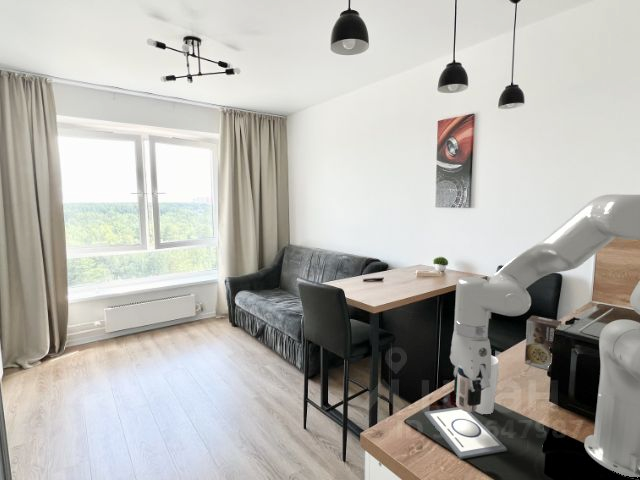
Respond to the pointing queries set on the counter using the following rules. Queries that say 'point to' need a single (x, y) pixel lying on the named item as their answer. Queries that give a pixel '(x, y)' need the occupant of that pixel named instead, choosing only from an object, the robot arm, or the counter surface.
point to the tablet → (464, 433)
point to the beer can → (463, 391)
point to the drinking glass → (489, 390)
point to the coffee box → (539, 341)
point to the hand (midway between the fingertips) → (466, 397)
